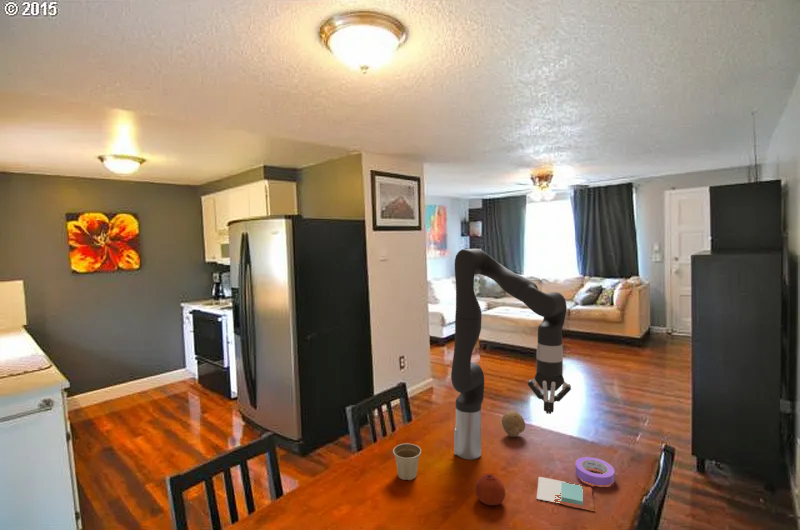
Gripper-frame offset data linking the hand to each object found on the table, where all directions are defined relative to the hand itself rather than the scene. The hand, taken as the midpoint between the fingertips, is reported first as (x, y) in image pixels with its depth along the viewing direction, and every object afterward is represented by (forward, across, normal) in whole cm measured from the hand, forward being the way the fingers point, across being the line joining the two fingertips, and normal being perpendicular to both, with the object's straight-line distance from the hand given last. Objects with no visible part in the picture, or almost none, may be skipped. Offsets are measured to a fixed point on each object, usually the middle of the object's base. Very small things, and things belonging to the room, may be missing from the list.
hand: (548, 412), depth 126 cm
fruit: (+25, -16, -12) cm, 32 cm away
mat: (+25, +5, 0) cm, 25 cm away
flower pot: (+25, -44, -8) cm, 51 cm away
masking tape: (+26, +14, +13) cm, 32 cm away
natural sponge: (+25, -14, +32) cm, 43 cm away
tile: (+24, +4, -1) cm, 24 cm away
